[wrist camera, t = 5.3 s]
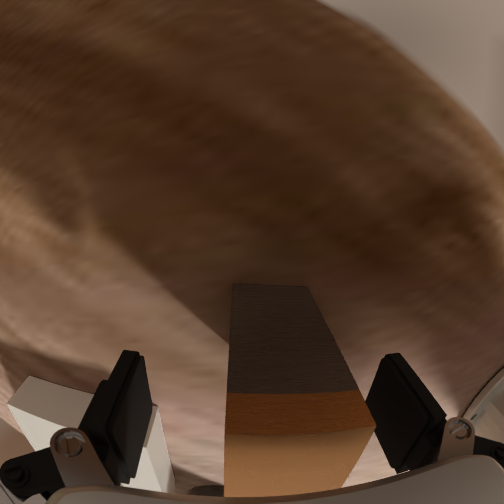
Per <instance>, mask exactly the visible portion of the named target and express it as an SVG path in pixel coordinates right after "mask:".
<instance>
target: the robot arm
mask: <svg viewBox="0 0 504 504" xmlns="http://www.w3.org/2000/svg"><path fill="white" fill-rule="evenodd" d="M365 402H366V405H367V407H368V409H369V411H370V413H371V415H372V417H373V419H374V421H375V424H376V428H375V430H374V432H375V434H376V436H377V438H378V440H379V442H380V445H381V447H382V449H383V451H384V453H385V455H386V458H387V460H388V462H389V464H390V466H391V467H392V468H395V471H396V473H397V474H398V473H401V474H398V475H394V476H391V477H387V478H384V479H380V480H376V481H372V482H368V483H363V484H359V485H354V486H349V487H344V488H338V489H333V490H326V491H320V492H312V493H304V494H295V495H283V496H267V497H213V496H197V495H185V494H175V493H166V492H159V491H152V490H145V489H137V488H131V487H124V486H120V485H121V483H124V484H129V483H130V479H131V478H135V477H136V473H137V469H138V465H139V461H140V457H141V453H142V449H143V445H144V441H145V437H146V433H147V430H148V426H149V422H150V418H151V415H152V409H153V405H152V400H151V395H150V389H149V384H148V378H147V373H146V367H145V360H144V357H143V356H140V354H139V352H137V351H129V350H123V352H122V354H121V356H120V358H119V359H118V361H117V363H116V365H115V367H114V369H113V371H112V373H111V375H110V377H109V379H108V380H102V381H101V383H100V384H99V386H98V388H97V390H96V392H95V394H94V396H93V398H92V400H91V402H90V404H89V406H88V408H87V410H86V412H85V414H84V416H83V418H82V420H81V422H80V424H79V426H78V429H77V428H72V427H67V428H62V429H60V430H58V431H56V432H55V433H54V434H53V435H52V437H51V439H50V447H48V448H45V449H42V450H39V451H36V452H32V453H29V454H26V455H23V456H20V457H16V458H13V459H10V460H8V461H6V462H5V463H4V464H2V466H1V468H0V504H504V368H503V369H502V370H501V371H500V372H499V373H498V374H497V375H496V376H495V377H494V378H493V379H492V380H491V381H490V382H489V383H488V384H487V385H486V386H485V387H484V388H483V390H482V391H481V392H480V393H479V395H478V396H477V397H476V398H475V400H474V401H473V402H472V404H471V405H470V406H469V408H468V409H467V411H466V413H465V414H464V416H463V418H462V417H453V418H450V419H449V420H448V421H447V420H446V419H445V417H446V416H447V415H446V413H445V412H444V411H443V409H442V408H441V406H440V405H439V404H438V402H437V401H436V400H435V398H434V397H433V396H432V394H431V393H430V392H429V390H428V389H427V388H426V386H425V385H424V384H423V382H422V381H421V380H420V378H419V377H418V376H417V374H416V373H415V372H414V370H413V369H412V368H411V367H410V365H409V364H408V363H407V361H406V360H405V359H404V358H403V356H402V355H401V354H400V353H393V354H387V355H385V357H384V358H382V359H381V361H380V364H379V367H378V370H377V373H376V375H375V378H374V381H373V383H372V386H371V388H370V391H369V393H368V396H367V398H366V401H365ZM408 470H410V471H408ZM405 471H408V472H405ZM402 472H405V473H402Z"/></svg>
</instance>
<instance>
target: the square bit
mask: <svg viewBox="0 0 504 504" xmlns="http://www.w3.org/2000/svg"><path fill="white" fill-rule="evenodd" d="M375 428H376V424H375V421H374V419H373V417H372V415H371V413H370V411H369V409H368V407H367V405H366V402H365V400H364V398H363V396H362V394H361V392H360V390H359V388H358V386H357V384H356V382H355V380H354V378H353V376H352V374H351V372H350V370H349V367H348V365H347V363H346V361H345V359H344V357H343V355H342V353H341V351H340V349H339V347H338V345H337V343H336V341H335V339H334V337H333V336H332V334H331V332H330V330H329V328H328V326H327V324H326V322H325V320H324V318H323V316H322V314H321V312H320V310H319V308H318V306H317V304H316V302H315V301H314V299H313V297H312V295H311V293H310V291H309V289H308V287H304V286H279V285H257V284H238V283H233V296H232V312H231V327H230V343H229V360H228V378H227V397H226V416H225V445H224V497H267V496H283V495H295V494H304V493H312V492H320V491H326V490H333V489H338V488H341V487H342V485H343V484H344V482H345V481H346V479H347V477H348V476H349V474H350V473H351V471H352V469H353V468H354V466H355V464H356V463H357V461H358V459H359V457H360V456H361V454H362V452H363V450H364V449H365V447H366V445H367V443H368V441H369V439H370V438H371V436H372V434H373V432H374V430H375Z"/></svg>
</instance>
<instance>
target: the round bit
mask: <svg viewBox="0 0 504 504" xmlns="http://www.w3.org/2000/svg"><path fill="white" fill-rule="evenodd" d="M188 495H197V496H213V497H224V487H223V486H199V487H195V488H193V489H191V490H190V491H189V492H188Z"/></svg>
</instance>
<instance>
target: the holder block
mask: <svg viewBox="0 0 504 504" xmlns="http://www.w3.org/2000/svg"><path fill="white" fill-rule="evenodd" d="M93 396H94V394H91V393H87V392H83V391H79V390H75V389H71V388H68V387H64V386H61V385H57V384H54V383H51V382H48V381H45V380H42V379H39V378H36V377H33V376H30V375H29V376H28V377H27V379H26V380H25V381H24V382H23V384H22V385H21V386H20V387H19V389H18V390H17V391H16V392H15V394H14V395H13V396H12V397H11V399H10V400H9V401H8V402H7V405H8V407H9V409H10V411H11V412H12V414H13V416H14V418H15V419H16V421H17V423H18V425H19V426H20V428H21V430H22V431H23V433H24V434H25V436H26V438H27V439H28V441H29V442H30V444H31V445H32V447H33V448H34V450H35V451H39V450H42V449H45V448H48V447H50V439H51V437H52V435H53V434H54V433H55V432H56V431H58V430H60V429H62V428H67V427H72V428H77V429H78V426H79V424H80V422H81V420H82V418H83V416H84V414H85V412H86V410H87V408H88V406H89V404H90V402H91V400H92V398H93ZM175 483H176V481H175V478H174V474H173V470H172V466H171V462H170V458H169V454H168V450H167V446H166V441H165V437H164V432H163V427H162V423H161V418H160V412H159V407H158V406H153V409H152V415H151V418H150V422H149V426H148V430H147V433H146V437H145V441H144V445H143V449H142V453H141V457H140V461H139V465H138V469H137V473H136V477H135V478H131V479H130V483H129V484H124V483H121V485H120V486H124V487H131V488H137V489H145V490H152V491H159V492H166V493H174V489H175Z"/></svg>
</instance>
